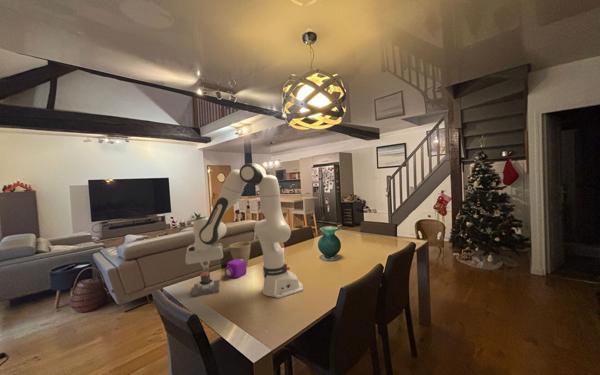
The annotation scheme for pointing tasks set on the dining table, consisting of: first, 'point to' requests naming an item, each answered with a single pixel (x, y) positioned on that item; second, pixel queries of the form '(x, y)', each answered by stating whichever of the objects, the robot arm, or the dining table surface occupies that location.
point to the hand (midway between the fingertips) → (206, 268)
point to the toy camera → (235, 268)
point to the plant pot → (240, 251)
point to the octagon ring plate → (205, 288)
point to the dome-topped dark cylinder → (205, 278)
